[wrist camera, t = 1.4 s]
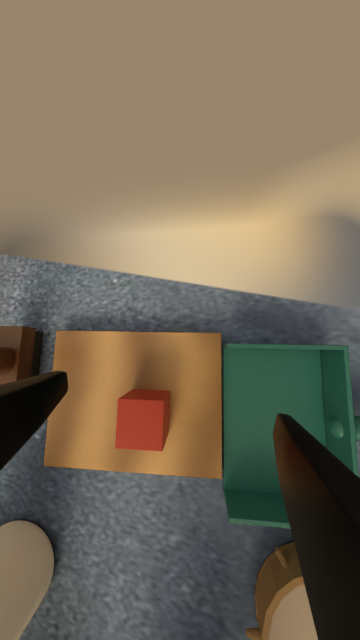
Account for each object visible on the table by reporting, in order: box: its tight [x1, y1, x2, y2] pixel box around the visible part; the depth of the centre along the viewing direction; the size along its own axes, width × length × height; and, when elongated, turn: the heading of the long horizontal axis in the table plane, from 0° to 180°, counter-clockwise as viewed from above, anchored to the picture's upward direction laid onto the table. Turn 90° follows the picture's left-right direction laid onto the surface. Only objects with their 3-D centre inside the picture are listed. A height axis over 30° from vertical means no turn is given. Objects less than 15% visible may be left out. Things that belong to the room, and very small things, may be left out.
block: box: [115, 389, 170, 452], centre depth 19 cm, size 4×4×4 cm
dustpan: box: [223, 343, 360, 529], centre depth 19 cm, size 17×15×4 cm
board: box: [43, 331, 222, 479], centre depth 22 cm, size 18×14×2 cm
